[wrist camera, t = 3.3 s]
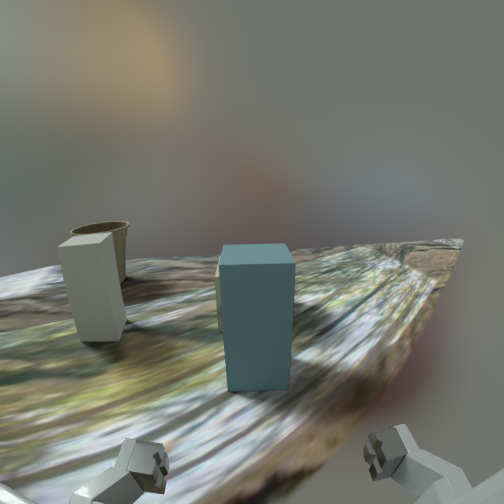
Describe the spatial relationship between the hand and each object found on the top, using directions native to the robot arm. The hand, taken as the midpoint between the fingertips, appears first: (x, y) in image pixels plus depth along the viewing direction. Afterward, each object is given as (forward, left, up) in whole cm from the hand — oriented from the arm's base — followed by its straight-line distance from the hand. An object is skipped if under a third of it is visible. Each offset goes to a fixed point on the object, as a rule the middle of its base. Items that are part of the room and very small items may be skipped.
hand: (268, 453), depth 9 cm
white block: (-16, +18, -6) cm, 25 cm away
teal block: (0, +12, -6) cm, 13 cm away
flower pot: (-22, +32, -6) cm, 39 cm away
